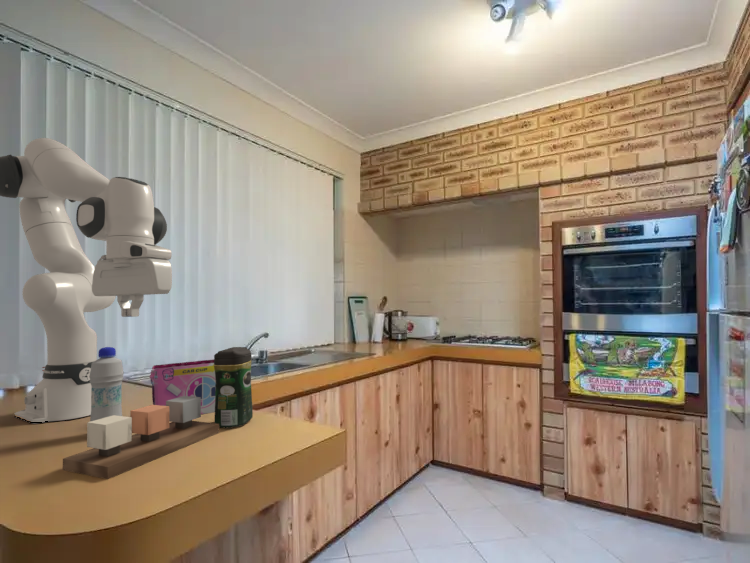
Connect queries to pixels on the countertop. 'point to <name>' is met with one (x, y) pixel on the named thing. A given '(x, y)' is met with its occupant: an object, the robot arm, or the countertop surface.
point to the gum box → (184, 383)
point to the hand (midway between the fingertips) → (130, 316)
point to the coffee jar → (233, 387)
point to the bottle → (106, 385)
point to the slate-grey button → (184, 409)
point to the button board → (139, 449)
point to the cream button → (109, 432)
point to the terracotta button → (150, 419)
